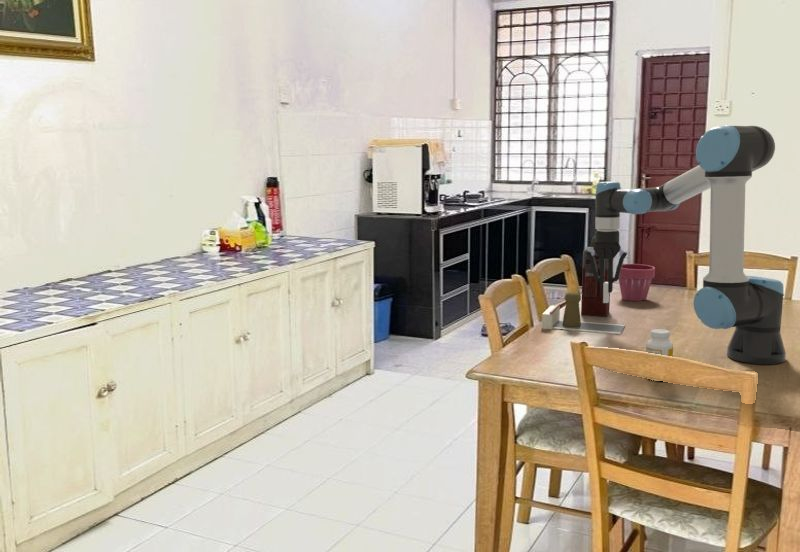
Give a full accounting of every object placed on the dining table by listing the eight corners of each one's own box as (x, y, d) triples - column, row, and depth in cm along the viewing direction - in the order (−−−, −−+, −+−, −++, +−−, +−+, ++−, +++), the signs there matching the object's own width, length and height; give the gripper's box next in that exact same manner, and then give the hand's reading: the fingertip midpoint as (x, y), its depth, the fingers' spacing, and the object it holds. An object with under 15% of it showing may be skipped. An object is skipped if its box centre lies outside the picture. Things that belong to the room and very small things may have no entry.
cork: (560, 325, 262) (561, 293, 260) (565, 322, 267) (566, 290, 265) (578, 327, 259) (579, 294, 257) (582, 324, 264) (584, 291, 263)
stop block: (551, 329, 259) (551, 312, 258) (541, 328, 260) (542, 311, 259) (559, 320, 272) (559, 303, 271) (550, 319, 273) (551, 303, 272)
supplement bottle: (666, 374, 209) (668, 327, 207) (675, 382, 203) (678, 333, 200) (641, 375, 209) (643, 328, 207) (649, 383, 202) (652, 334, 200)
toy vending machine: (580, 317, 276) (582, 237, 271) (584, 310, 286) (586, 233, 281) (606, 318, 273) (609, 238, 268) (609, 311, 283) (612, 234, 278)
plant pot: (657, 297, 307) (659, 265, 305) (648, 304, 295) (649, 270, 293) (621, 294, 315) (622, 262, 312) (610, 300, 303) (611, 267, 301)
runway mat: (620, 334, 251) (620, 333, 251) (551, 328, 260) (551, 327, 260) (625, 326, 262) (625, 325, 262) (558, 320, 271) (558, 319, 271)
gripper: (629, 229, 254) (628, 301, 258) (588, 228, 259) (587, 299, 263) (626, 231, 248) (625, 305, 251) (584, 230, 253) (583, 303, 256)
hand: (606, 302), depth 257 cm, fingers closed
